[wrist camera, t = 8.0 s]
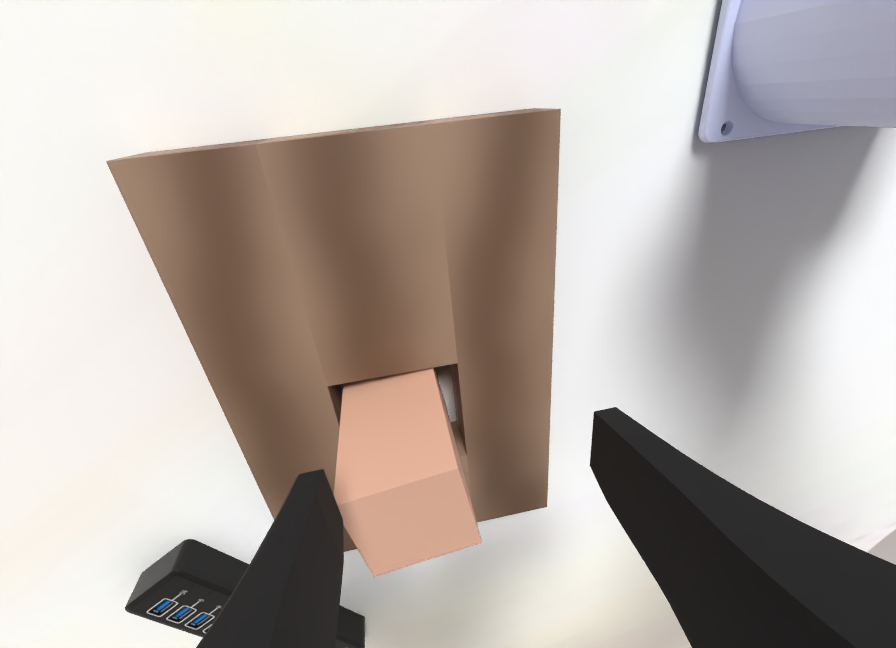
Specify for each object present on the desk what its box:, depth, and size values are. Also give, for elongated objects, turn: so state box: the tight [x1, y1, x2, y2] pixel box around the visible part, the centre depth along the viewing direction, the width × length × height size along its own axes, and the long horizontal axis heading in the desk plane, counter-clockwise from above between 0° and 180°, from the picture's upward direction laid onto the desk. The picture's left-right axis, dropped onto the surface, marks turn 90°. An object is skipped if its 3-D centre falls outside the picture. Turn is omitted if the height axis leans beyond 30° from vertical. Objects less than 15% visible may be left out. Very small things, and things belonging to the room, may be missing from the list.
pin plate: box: [106, 108, 561, 552], centre depth 19 cm, size 14×20×2 cm
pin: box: [334, 367, 482, 577], centre depth 17 cm, size 4×4×8 cm
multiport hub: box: [125, 539, 365, 648], centre depth 26 cm, size 4×14×2 cm, turn 38°
